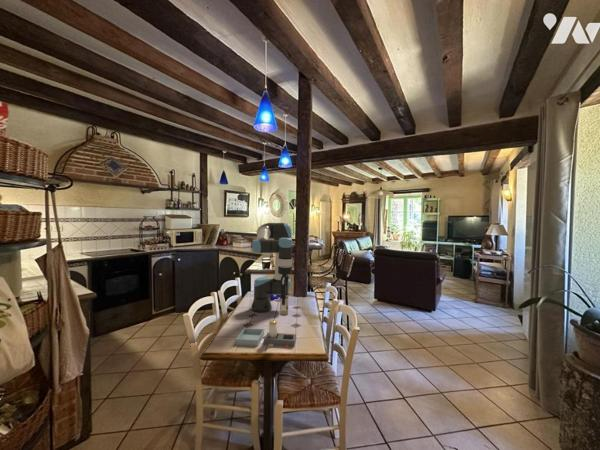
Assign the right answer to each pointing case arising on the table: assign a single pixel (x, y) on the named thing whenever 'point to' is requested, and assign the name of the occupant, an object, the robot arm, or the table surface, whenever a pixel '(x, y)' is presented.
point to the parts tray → (250, 337)
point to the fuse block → (281, 340)
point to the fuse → (273, 329)
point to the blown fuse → (285, 313)
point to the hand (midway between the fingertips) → (284, 308)
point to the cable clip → (274, 297)
